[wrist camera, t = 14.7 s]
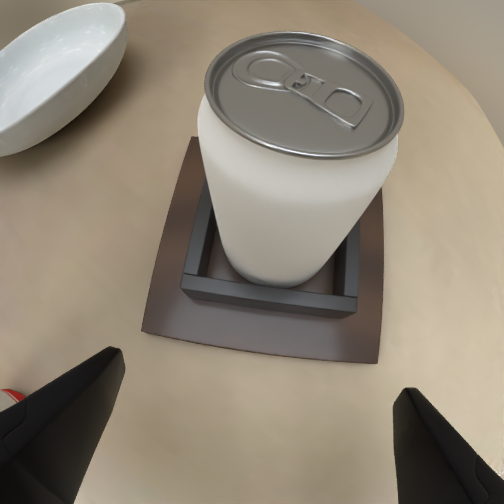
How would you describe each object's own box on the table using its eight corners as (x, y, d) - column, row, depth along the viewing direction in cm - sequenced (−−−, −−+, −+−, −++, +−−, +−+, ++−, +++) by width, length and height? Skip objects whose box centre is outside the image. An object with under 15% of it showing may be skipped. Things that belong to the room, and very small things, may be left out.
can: (261, 174, 20) (271, 10, 9) (346, 226, 19) (436, 85, 8) (200, 250, 18) (138, 101, 7) (292, 312, 17) (370, 229, 6)
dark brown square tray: (371, 363, 17) (396, 364, 14) (146, 332, 18) (124, 327, 14) (375, 170, 22) (391, 142, 18) (193, 144, 22) (185, 113, 19)
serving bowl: (-30, 211, 21) (-71, 180, 14) (7, 86, 27) (-14, 54, 21) (146, 134, 23) (120, 72, 16) (139, 27, 29) (128, -15, 23)
